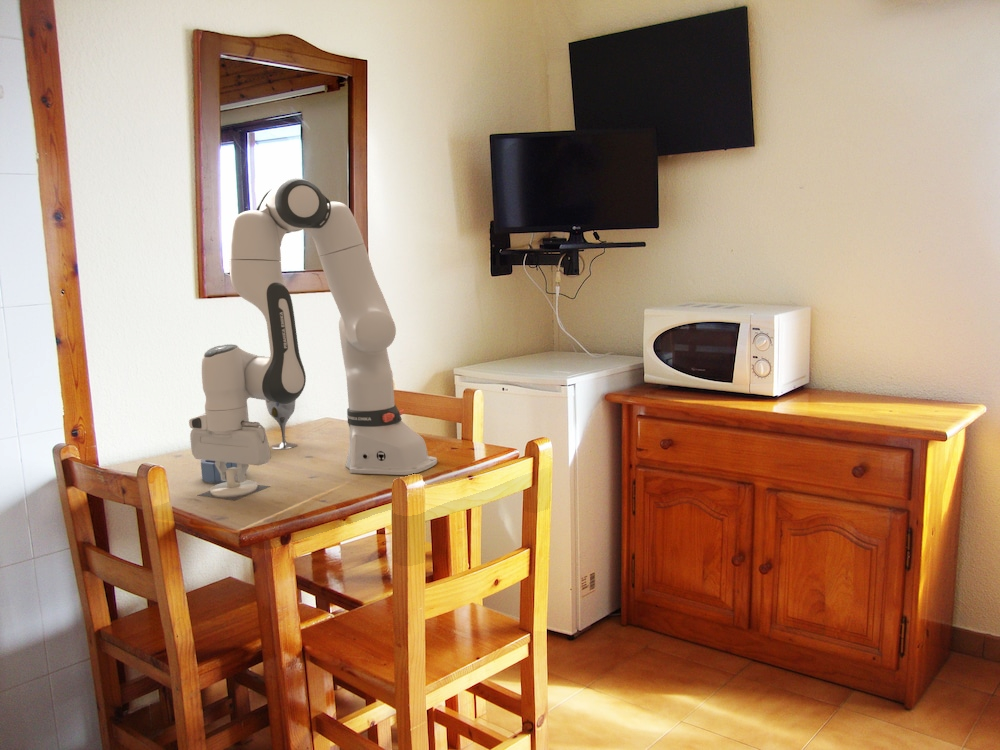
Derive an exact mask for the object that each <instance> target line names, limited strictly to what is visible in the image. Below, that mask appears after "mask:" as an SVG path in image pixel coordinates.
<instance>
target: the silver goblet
mask: <svg viewBox="0 0 1000 750" xmlns="http://www.w3.org/2000/svg"><path fill="white" fill-rule="evenodd" d="M264 401H265V405H266V409H267V412H268V414H269V415H270V416H271V417H272V418H273V420H275V421H276V422H277V423H278V425H279V427H280V431H281V438H282V439H281V442H280V443H276V444H273V445H272V446H271V447H270V448H271V449H272V450H287V449H291V448H292V449H294V448H295V447H297V446H298V445H299V444H298V443H296V442H289V441H287V440H286V425H287V422H288V421H289V419H291V417H292V415H293V413H294V412H295V409H296V400H295V401H293V402H291V403H288V404H280V403H277V402H273V401H270V400H264Z"/></svg>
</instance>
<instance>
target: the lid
mask: <svg viewBox="0 0 1000 750" xmlns="http://www.w3.org/2000/svg"><path fill="white" fill-rule="evenodd" d="M238 470H239V468H237V467H231V468H227V469H226V480H227V482H223V483H216V484H215V485H213V486H211V487H210V489H209V491H210V494H211V495H212V496H214V497H221V498H227V497H237V496H242V495H247V494H250V493H252V492H254V491H256V490H257V489H258V486H257V485H258V481H257V482H256V481H254V480H249V479H246V480H245V482H242V483H238V482H235V475H236V474H238ZM250 495H251V494H250Z"/></svg>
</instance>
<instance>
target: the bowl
mask: <svg viewBox="0 0 1000 750" xmlns="http://www.w3.org/2000/svg"><path fill="white" fill-rule="evenodd" d="M225 465H226V467H227V468H231V467H237V463H229V462H227V464H225ZM200 467H201V468H200V469H201V480H202V481H203V482H205V483H209V484H220V483H224V482H227V481H222V480H221V475H220V472H219V471H218V469H217V467H216V466H215V461H210V460H201V459H200ZM246 474H247V473H245V476H246Z"/></svg>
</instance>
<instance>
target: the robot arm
mask: <svg viewBox="0 0 1000 750" xmlns="http://www.w3.org/2000/svg"><path fill="white" fill-rule="evenodd" d="M231 226H232V227H231V232H230V240H229V241H230V242H229V277H230V282H231V285H232V288H233V290H234V291H235V292H236V293H237V294H238V295H239V296H240V297H241V298H242V299H244V300H246V302H248V303H250V304H252V305H253V306H254V307H256V308H257V309H258V310H259V311H260V312H261V314H262V315H263V316H264V319H265V321H266V328H267V334H268V335H267V337H268V343H269V350H270V351H269V352H270V356H264V355H263V356H262V355H257V354H253V353H250V352H247V351H246V350H244V349H241V347H239V346H238V345H237V344H232V343H230V344H229V343H228V344H223V345H218V346H217V345H216V346H214V347H211V348H209V349H207V350H206V351H205V352H204V354H203V357H202V360H201V382H202V383H201V384H202V390H203V392H204V395H205V404H204V413H203V414H201V415H198V416H195V417H193V418H192V417H191V418H190V419H189V420H188V425H189V428H190V429H191V431H190V435H189V437H190V438H189V439H190V449H191V454H192V456H193V457H194V458H195V460H200V461H201V460H210V461H215V466H216V467H217V469H218V471H219V472H220V475H221V480H222V481H227V480H226V469H227V467H226V465H225V464H227V462H229V463H237V468H239V470H238V474H236V475H235V482H238V483H242V482H245V480H247V479H246V478H247V477H246V475H245V474H247V472H248V469H249V465H250V466H258V467H259V466H262V465H265V464H267V463H269V462H270V459H271V457H272V455H271V450H270V444H269V441H268V436H267V433H266V428H265V427H264V426H263V425H262V424H261V423H260V422H258V421H250V420H249V407H248V399H249V398H250V399H256V400H262V401H265V400H270V401H273V402H277V403H280V404H288V403H291V402H293V401H295V402H296V400H297V399H298V398H299V397H300V396H301V394H302V393H303V391H304V388H305V387H306V381H307V380H306V379H307V378H306V371H305V368H304V365H303V362H302V359H301V354H300V349H299V342H298V341H299V340H298V333H297V328H296V327H297V326H296V319H295V318H296V317H295V312H294V306H293V300H292V297H291V293H290V291H289V290H288V288H287V286H286V284H285V282H284V277H283V273H282V262H281V261H282V257H281V256H282V255H281V246H282V243H283V242H282V241H283V238H284V236H286V234H291V233H292V232H294V233H295V232H299V231H302V230H303V231H305V232H306V233H307V234H309V236H310V237H311V238H312V241H313V242H314V244H315V245H314V246H315V248H316V251H317V256H318V259H319V261H320V264H321V268H322V271H323V274H324V276H325V280H326V284H327V286H328V288H329V291H330V293H331V295H332V297H333V299H334V302H335V304H336V307H337V309H338V311H339V314H340V317H339V321H338V329H339V331H338V332H339V337H340V346H341V352H342V358H343V359H342V360H343V365H344V370H345V376H346V387H347V390H346V391H347V400H348V401H347V402H348V408H347V410H346V414H347V416H346V417H347V424H348V428H349V443H348V444H349V445H348V452H347V458H346V459H347V460H346V464H345V466H346V468H347V469H349V473H350V474H364V475H365V474H366V475H369V474H370V475H391V476H393V475H395V476H410V475H414V474H418V473H421V472H424V471H427V470H429V469H431V468H433V467H434V466H436V465H437V464H438V459H437V457H436V456H431V455H428V448H427V445H426V441H425V439H424V438H423V437H422V436H421V435H420V434H418V433H417V432H416V431H415V430H414V429H412V428H411V427H410V426H409V425H407V424H406V423H405V422H404V421H402V416H403V415H405V413H406V412H404V411H405V408H403V409H401V410H399V409H398V407H397V406H396V404H395V393H394V390H395V389H394V379H393V378H394V377H393V376H394V373H393V371H392V368H391V363H390V359H389V354H388V348H389V347H390V345H392V343H394V341H395V338H396V335H397V328H396V324H395V321H394V319H393V317H392V314H391V312H390V309H389V306H388V304H387V301H386V299H385V296H384V294H383V292H382V289H381V287H380V285H379V282H378V281H377V278H376V276H375V273H374V270H373V267H372V264H371V260H370V257H369V254H368V251H367V247H366V245H365V241H364V238H363V235H362V233H361V232H362V231H361V230H360V227H359V225H358V223H357V220H356V218H355V217H354V214H353V212H352V211H351V209H350V208H349V206H348V205H347V204H345V203H344V202H340V201H330V200H329V199H328V197H326V195H324V194H323V193H322V191H321V189H319V188H318V187H317V186H316V185H315V183H313V182H311V181H310V180H307V179H303V178H290V179H288V180H285V181H282V182H279V183H278V184H276V185H274V187H272V188H271V189H269V191H267V192H266V193H265V194H264V196H263V197H262V199H261V201H260V202H259V205H258V206H257V208H256V210H255V209H252V210H251V209H250V210H245V211H242V212H240V213H239V214H237V215H236V216H235V218H234V220H233V223H232V225H231ZM413 473H414V474H413Z"/></svg>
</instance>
